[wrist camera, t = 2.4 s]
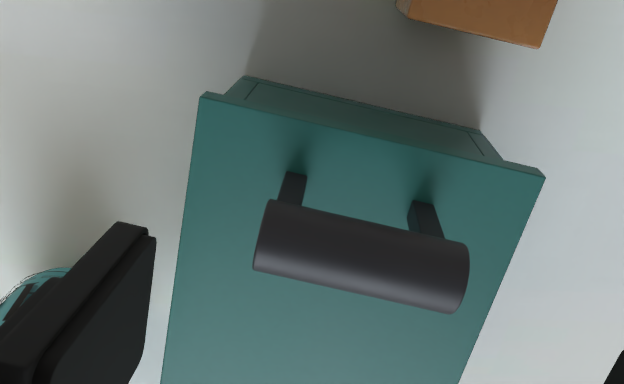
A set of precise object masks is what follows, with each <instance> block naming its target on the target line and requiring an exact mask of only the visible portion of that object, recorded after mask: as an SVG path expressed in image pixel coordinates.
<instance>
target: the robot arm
mask: <svg viewBox="0 0 624 384" xmlns="http://www.w3.org/2000/svg"><path fill="white" fill-rule="evenodd" d="M148 235H149V233H148V229H147V228H145V227H141V226H137V225H133V224H128V223H124V222H119V221H118V222H116V223H115V224H114V225H113V226H112V227H111V228H110V229H109V230H108V231H107V232H106V233H105V234H104V235H103V236H102V237H101V238H100V239H99V240H98V241H97V242H96V243H95V244H94V245H93V246H92V247H91V249H90V250H89V251H88V252H87V253H86V254H85V255H84V256H83V257H82V258H81V259H80V260H79V261H78V262H77V263H76V264H75V265H74V266H73V267H72V268H71V269H70V270H69V271H68V272H67V273H66V274H65V275H64V276H63V277H62V278H59V277H51V278H49V279H48V280H47V281H45V282H44V283H43V284H42V285H41V286H40V287H39V288H38V289H37V290H36V291H35V292H34V293H33V294H32V295H31V296H30V297H29V298H28V299H27V300H26V301H25V302H24V303H23V304H22V305H21V306H20V307H19V308H18V309H17V310H16V311H15V312H14V313H13V314H12V315H11V316H10V317H9V318H8V319H7V320H6V321H5V322H4V323H3V324H2V325H1V326H0V384H128V383H129V381H130V379H131V377H132V375H133V374H134V372H135V370H136V368H137V366H138V364H139V362H140V360H141V357H142V354H143V350H144V343H145V335H146V326H147V318H148V310H149V302H150V293H151V285H152V277H153V269H154V260H155V252H156V238H155V237H151V236H148ZM604 384H624V350H623V351H622V352H621V354H620V355H619V357H618V359H617V361H616V363H615V364H614V366H613V368H612V370H611V371H610V373H609V375H608V377H607V379H606V380H605V382H604Z"/></svg>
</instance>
